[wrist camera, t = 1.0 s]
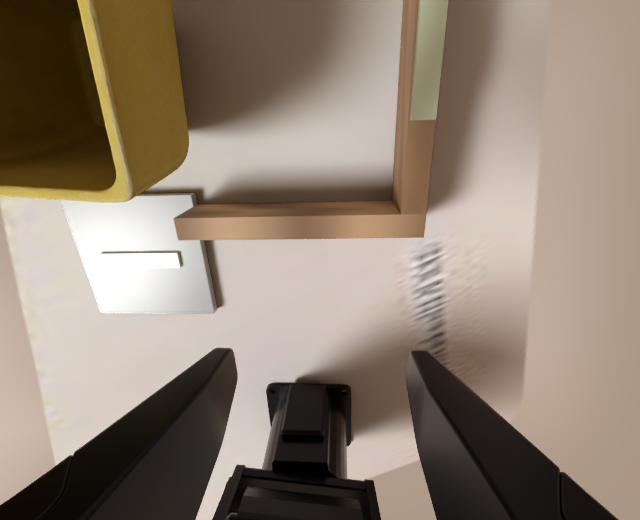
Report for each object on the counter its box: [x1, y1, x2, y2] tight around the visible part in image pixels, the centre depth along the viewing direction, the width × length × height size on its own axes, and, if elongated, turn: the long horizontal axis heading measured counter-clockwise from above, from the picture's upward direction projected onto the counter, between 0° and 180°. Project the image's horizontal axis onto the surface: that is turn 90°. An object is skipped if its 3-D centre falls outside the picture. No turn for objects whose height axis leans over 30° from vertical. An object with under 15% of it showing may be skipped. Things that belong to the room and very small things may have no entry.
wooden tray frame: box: [173, 0, 449, 241], centre depth 14 cm, size 13×16×3 cm
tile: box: [60, 193, 217, 314], centre depth 20 cm, size 8×8×1 cm
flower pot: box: [0, 0, 189, 203], centre depth 12 cm, size 9×9×9 cm
